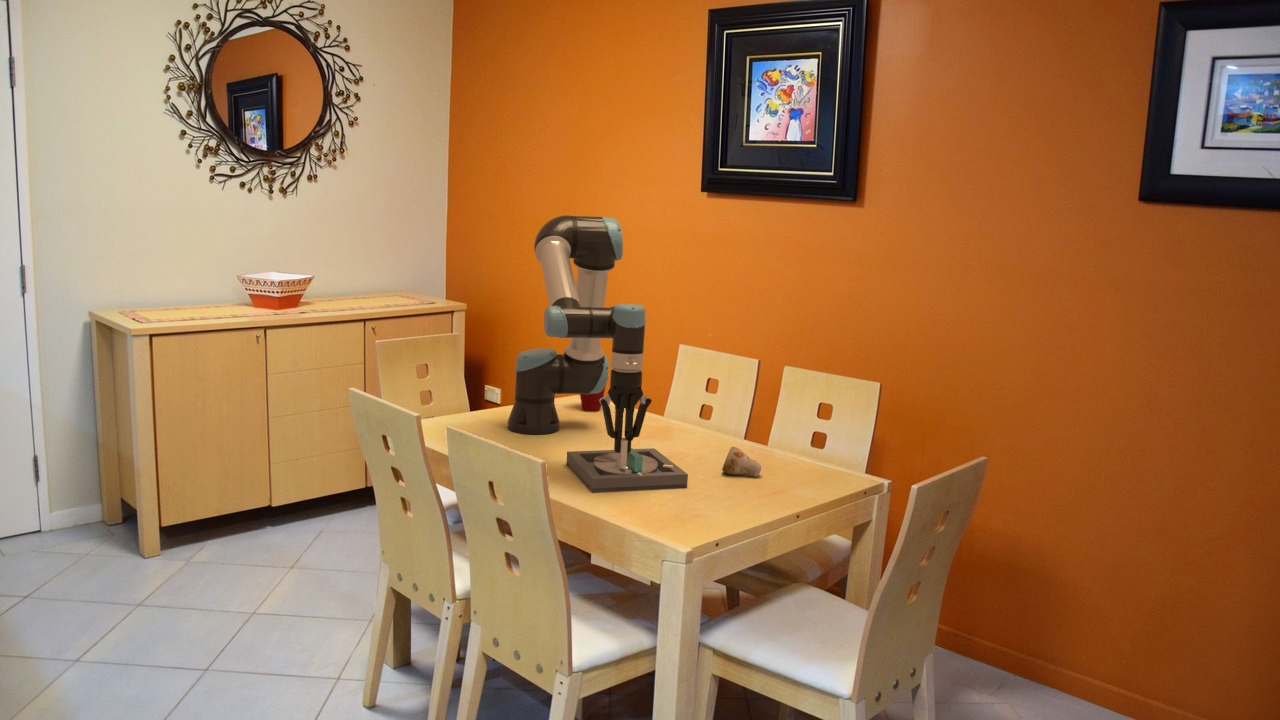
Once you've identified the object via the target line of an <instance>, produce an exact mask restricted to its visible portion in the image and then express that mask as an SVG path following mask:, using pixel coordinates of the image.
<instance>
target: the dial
mask: <svg viewBox="0 0 1280 720" xmlns="http://www.w3.org/2000/svg"><path fill="white" fill-rule="evenodd" d="M634 449H635V448H632V447H631V451H630V452H627V463H626V467H620V466H619V465H618V464H617V456H618V453H609V454H603V455H599V456H597V457H596V458H595V459H594V467H593V468H594V469H595V470H596V471H597V472H598V473H599V474H600V475H616V474H637V473H657V466H658V462H657V461H656V460H655V459H653V458H651V457H648V456H644V455H640V454H639V453H637V452H636V451H635V450H634Z"/></svg>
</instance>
